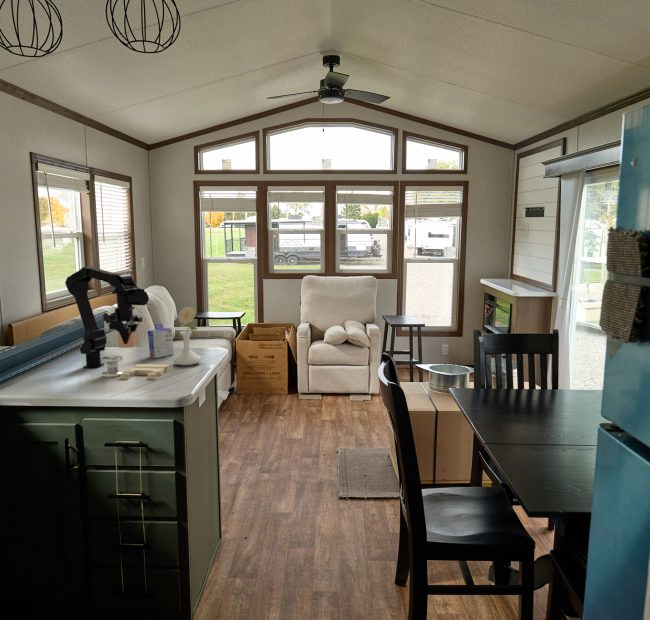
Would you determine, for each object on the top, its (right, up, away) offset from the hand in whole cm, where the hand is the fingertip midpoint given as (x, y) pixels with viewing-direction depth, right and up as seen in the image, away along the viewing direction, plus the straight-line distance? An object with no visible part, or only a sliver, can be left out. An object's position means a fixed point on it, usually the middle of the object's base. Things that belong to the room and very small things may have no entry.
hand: (127, 342), depth 233 cm
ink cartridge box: (+6, -8, +27) cm, 29 cm away
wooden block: (0, -2, 0) cm, 2 cm away
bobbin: (-4, -12, -6) cm, 14 cm away
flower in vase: (+23, -10, +10) cm, 27 cm away
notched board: (+9, -12, -5) cm, 16 cm away
